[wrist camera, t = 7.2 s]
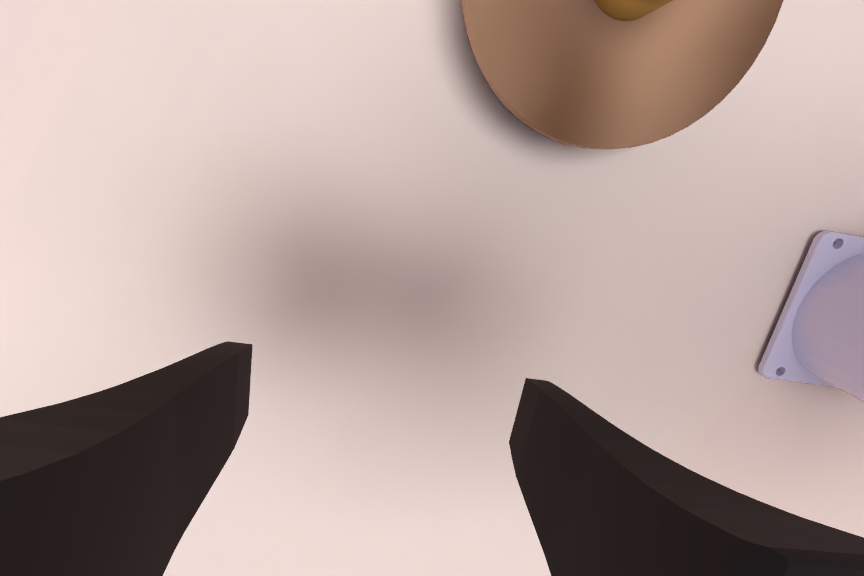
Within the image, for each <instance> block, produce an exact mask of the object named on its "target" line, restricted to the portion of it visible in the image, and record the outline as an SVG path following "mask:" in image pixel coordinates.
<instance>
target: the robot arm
mask: <svg viewBox="0 0 864 576" xmlns="http://www.w3.org/2000/svg"><path fill="white" fill-rule="evenodd" d="M835 240H836V241H835ZM834 241H835V244H834V245H833V243H834ZM251 358H252V344H244V343H235V342H224V343H221V344H218V345H216V346H213V347H211V348H208V349H206V350H204V351H201V352H199V353H197V354H194V355H192V356H190V357H187V358H185V359H183V360H180V361H178V362H176V363H174V364H171V365H169V366H167V367H164V368H162V369H159V370H157V371H154V372H152V373H149V374H146V375H144V376H141V377H139V378H136V379H133V380H131V381H128V382H126V383H123V384H120V385H117V386H115V387H112V388H109V389H106V390H103V391H100V392H97V393H93V394H90V395H87V396H83V397H80V398H77V399H73V400H70V401H66V402H63V403H59V404H55V405H51V406H47V407H42V408H38V409H34V410H30V411H26V412H21V413H17V414H13V415H9V416H4V417H0V576H163V574H164V571H165V569H166V567H167V565H168V563H169V561H170V559H171V557H172V555H173V552H174V550H175V548H176V547H177V545H178V543H179V541H180V539H181V537H182V536H183V534H184V532H185V530H186V528H187V527H188V525H189V523H190V522H191V520H192V518H193V517H194V515H195V513H196V512H197V510H198V508H199V507H200V505H201V503H202V502H203V500H204V498H205V497H206V495H207V493H208V492H209V490H210V488H211V487H212V485H213V483H214V482H215V480H216V478H217V477H218V475H219V473H220V472H221V470H222V468H223V467H224V465H225V463H226V461H227V460H228V458H229V456H230V455H231V453H232V451H233V449H234V447H235V445H236V443H237V440H238V438H239V436H240V434H241V431H242V429H243V426H244V424H245V421H246V419H247V416H248V409H249V392H250V375H251ZM778 368H779V369H778ZM777 369H778V370H777ZM776 370H777V371H776ZM758 372H759V373H760V374H761V375H762V376H764V377H766V378H770V379H778V380H786V381H793V382H801V383H809V384H816V385H824V386H832V387H837V388H839V389H841V390H843V391H845V392H847V393H848V394H850V395H852V396H854V397H856V398H858V399H859V400H861V401H863V402H864V237H859V236H853V235H848V234H842V233H837V232H831V231H822V232H819V233H818V234H817V235H816V236H815V238H814V239H813V242H812V244H811V246H810V249H809V251H808V253H807V255H806V258H805V260H804V262H803V265H802V267H801V269H800V272H799V274H798V276H797V279H796V281H795V283H794V286H793V288H792V290H791V293H790V295H789V297H788V299H787V302H786V304H785V306H784V309H783V311H782V313H781V316H780V318H779V320H778V323H777V325H776V327H775V330H774V332H773V334H772V337H771V339H770V341H769V343H768V346H767V348H766V350H765V353H764V355H763V357H762V360H761V362H760V364H759V367H758ZM509 444H510V449H511V455H512V460H513V464H514V469H515V473H516V477H517V480H518V483H519V486H520V489H521V491H522V494H523V497H524V500H525V503H526V505H527V508H528V511H529V513H530V516H531V519H532V522H533V524H534V527H535V530H536V532H537V535H538V538H539V541H540V543H541V546H542V549H543V552H544V554H545V557H546V560H547V563H548V567H549V570H550V573H551V576H864V538H863V537H860V536H857V535H854V534H850V533H847V532H844V531H841V530H838V529H835V528H832V527H829V526H826V525H823V524H820V523H817V522H814V521H811V520H808V519H805V518H802V517H799V516H796V515H794V514H791V513H789V512H786V511H783V510H781V509H778V508H776V507H773V506H770V505H768V504H765V503H763V502H760V501H758V500H755V499H753V498H750V497H748V496H746V495H743V494H741V493H738V492H736V491H734V490H732V489H729V488H727V487H725V486H723V485H721V484H719V483H716V482H714V481H712V480H710V479H708V478H706V477H703V476H701V475H699V474H697V473H695V472H693V471H691V470H689V469H687V468H685V467H683V466H681V465H680V464H678V463H676V462H674V461H672V460H670V459H669V458H667V457H665V456H663V455H661V454H659V453H658V452H656V451H654V450H652V449H651V448H649V447H647V446H646V445H644V444H642V443H641V442H639V441H638V440H636V439H634V438H633V437H631V436H630V435H628V434H627V433H625V432H623V431H622V430H620V429H619V428H617V427H616V426H614V425H613V424H611V423H610V422H608V421H607V420H605V419H604V418H602V417H601V416H600V415H598V414H597V413H595V412H594V411H592V410H591V409H590V408H588V407H587V406H585V405H584V404H583V403H581V402H580V401H578V400H577V399H575V398H574V397H573V396H571V395H570V394H568V393H567V392H565V391H564V390H562V389H561V388H559V387H558V386H556V385H554V384H552V383H551V382H549V381H544V380H536V379H528V378H526V380H525V384H524V388H523V391H522V395H521V399H520V403H519V406H518V410H517V414H516V418H515V422H514V425H513V429H512V433H511V437H510V440H509Z"/></svg>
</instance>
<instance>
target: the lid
mask: <svg viewBox="0 0 864 576" xmlns="http://www.w3.org/2000/svg"><path fill="white" fill-rule="evenodd" d="M461 1H462V9H463V15H464V21H465V27H466V31H467V34H468V38H469V41H470V45H471V48H472V51H473V53H474V56H475V58H476V61H477V63H478V65H479V68H480V70H481V72H482V73H483V75H484V77H485V79H486V80H487V82H488V84H489V85H490V87H491V89H492V90H493V91H494V93H495V94H496V95H497V97H498V98H499V99H500V100H501V102H502V103H503V104H504V105H505V106H506V107H507V108H508V109H509V110H510V111H511V112H512V113H513V114H514V115H515V116H516V117H517V118H518V119H519V120H521V121H522V122H523V123H525V124H526V125H528V126H529V127H530V128H532V129H533V130H535V131H537V132H539V133H540V134H542V135H544V136H546V137H548V138H550V139H553V140H556V141H558V142H561V143H564V144H567V145H572V146H577V147H582V148H592V149H618V148H630V147H635V146H640V145H644V144H649V143H652V142H655V141H657V140H660V139H663V138H666V137H668V136H671V135H673V134H674V133H676V132H678V131H680V130H682V129H684V128H686V127H688V126H689V125H691V124H692V123H694V122H695V121H697V120H698V119H700V118H701V117H703V116H704V115H706V114H707V113H708V112H709V111H710V110H712V109H713V108H714V107H715V106H716V105H717V104H719V103H720V102H721V101H722V100H723V99H724V98H725V97H726V96H727V95H728V94H729V93H730V92H731V91H732V89H733V88H734V87H735V86H736V85H737V84H738V83H739V82H740V80H741V79H742V78H743V76H744V75H745V74H746V72H747V71H748V70H749V68H750V67H751V66H752V64H753V63H754V61H755V59H756V58H757V56H758V55H759V53H760V51H761V50H762V48H763V46H764V45H765V43H766V41H767V38H768V36H769V34H770V32H771V30H772V28H773V26H774V24H775V22H776V19H777V16H778V13H779V11H780V8H781V5H782V2H783V0H461Z"/></svg>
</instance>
